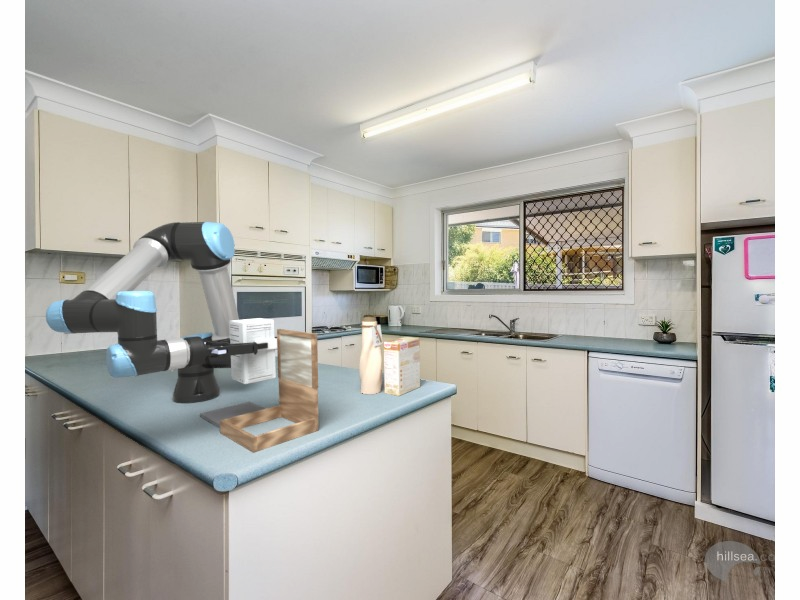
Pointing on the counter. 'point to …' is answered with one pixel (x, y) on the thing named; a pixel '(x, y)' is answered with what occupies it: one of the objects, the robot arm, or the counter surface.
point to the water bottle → (371, 357)
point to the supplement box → (251, 365)
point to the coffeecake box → (401, 365)
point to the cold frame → (285, 395)
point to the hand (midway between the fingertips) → (267, 341)
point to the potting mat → (229, 412)
